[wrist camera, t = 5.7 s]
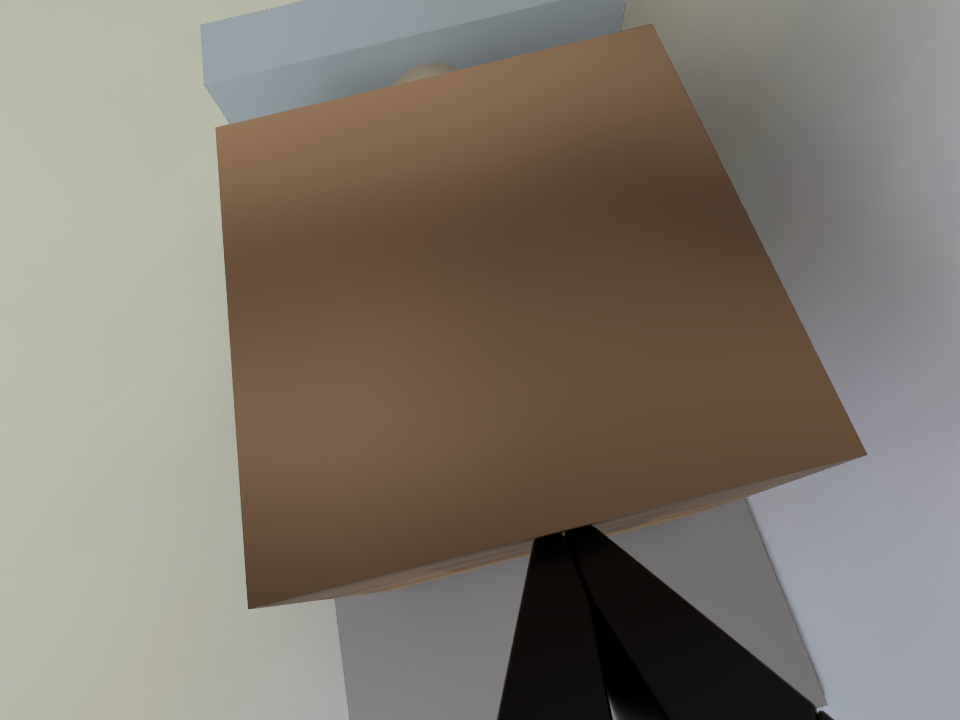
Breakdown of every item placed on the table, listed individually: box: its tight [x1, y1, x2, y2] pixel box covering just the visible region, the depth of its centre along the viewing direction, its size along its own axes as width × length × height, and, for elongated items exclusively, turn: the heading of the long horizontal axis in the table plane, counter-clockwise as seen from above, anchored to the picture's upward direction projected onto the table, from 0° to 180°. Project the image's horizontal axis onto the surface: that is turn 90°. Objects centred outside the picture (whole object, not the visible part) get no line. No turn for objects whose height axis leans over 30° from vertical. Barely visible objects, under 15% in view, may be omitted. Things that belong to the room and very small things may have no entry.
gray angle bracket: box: [201, 0, 828, 720], centre depth 13 cm, size 18×11×6 cm, turn 13°
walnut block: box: [216, 24, 867, 609], centre depth 12 cm, size 8×8×8 cm
